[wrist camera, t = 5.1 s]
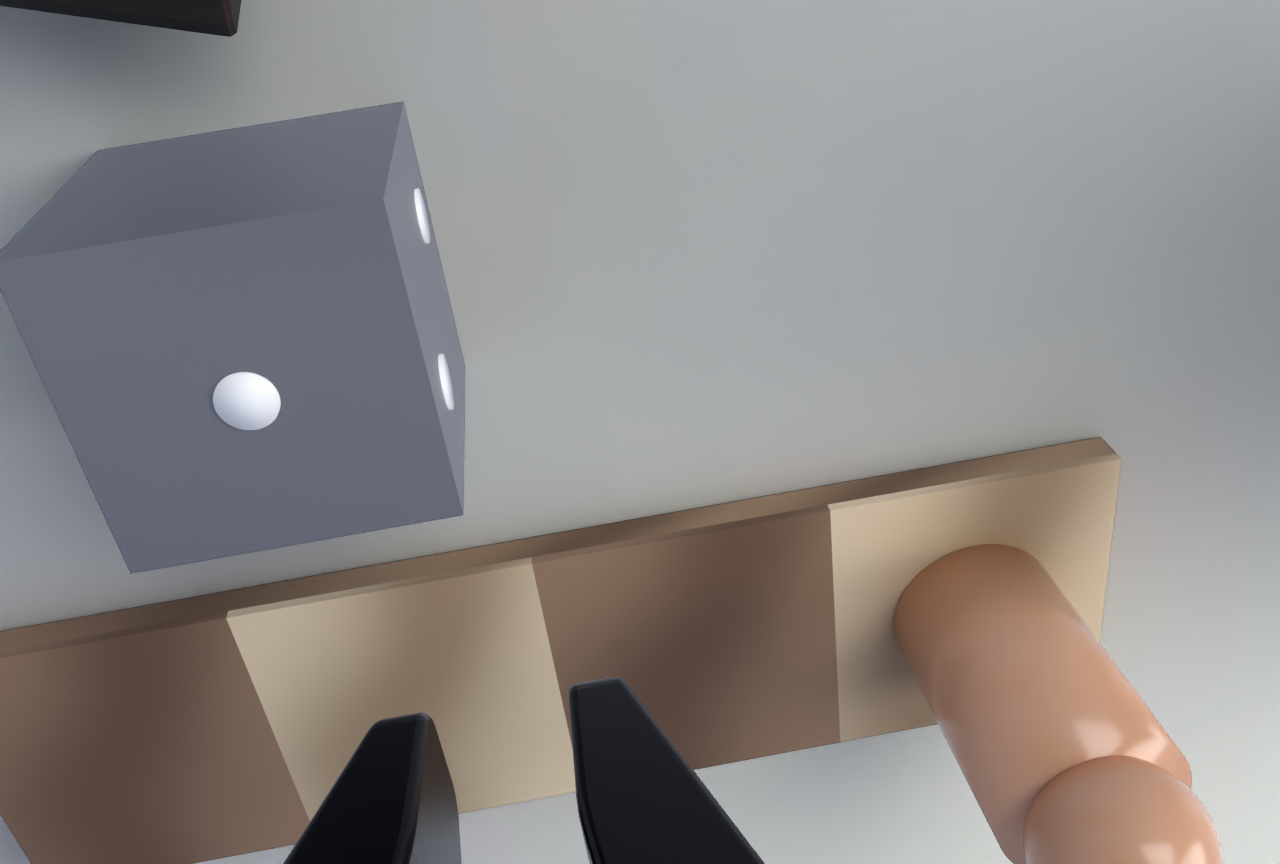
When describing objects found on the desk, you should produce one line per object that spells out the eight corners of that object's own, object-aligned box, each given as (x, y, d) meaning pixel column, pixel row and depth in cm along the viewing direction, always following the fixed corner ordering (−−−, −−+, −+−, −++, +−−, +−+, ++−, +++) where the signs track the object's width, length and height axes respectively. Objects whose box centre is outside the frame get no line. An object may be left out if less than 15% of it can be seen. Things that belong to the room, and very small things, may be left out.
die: (407, 99, 17) (387, 199, 13) (468, 364, 19) (467, 516, 15) (100, 148, 17) (-14, 264, 13) (200, 409, 19) (129, 575, 15)
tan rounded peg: (1057, 531, 21) (1298, 833, 15) (1043, 658, 23) (1255, 977, 17) (895, 558, 21) (1072, 874, 15) (892, 684, 23) (1050, 1017, 17)
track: (1100, 437, 21) (1121, 459, 21) (1076, 668, 25) (1093, 694, 24) (-69, 643, 20) (-88, 673, 20) (60, 858, 24) (47, 890, 23)
